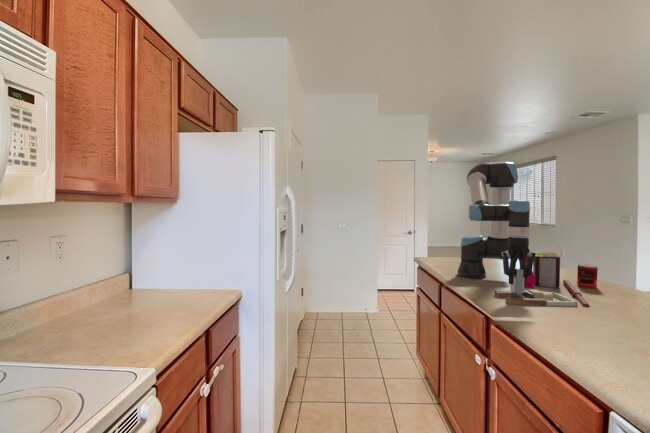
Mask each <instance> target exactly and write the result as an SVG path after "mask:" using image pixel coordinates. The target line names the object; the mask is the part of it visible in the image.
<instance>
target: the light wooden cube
mask: <svg viewBox="0 0 650 433" xmlns="http://www.w3.org/2000/svg"><path fill="white" fill-rule="evenodd" d="M542 292H543V299H544V300H546V301H554V297H553V294H551V293H549V291H542Z"/></svg>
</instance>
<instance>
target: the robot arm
mask: <svg viewBox="0 0 650 433" xmlns="http://www.w3.org/2000/svg"><path fill="white" fill-rule="evenodd" d="M518 177H519V174H518V169H517V165H516V164H515V162H513V161H512V162H511V161H497V162H482V163H479V164H477V165H475V166H473V167H472V168H471V169H470V170H469V171H468V173H467V175H466V184H467V185H468V187H469V191H470V200H471V204H470V205H469V206H468V219H469V220H470V221H473V222H474V221H475V222H476V221H477V222H490V232H489V233H488V234H487V237H484V235H481V234H479V235H467V236H464V237H462V238H461V240H460V243H461V244H460V247H461V248H460V263H459V266H458V269H457V275H458V276H460V277H461V278H468V279H485V278H487V272H486V269H485V266H484V261H483V260H484V259H488V260H489V259H490V260H491V259H493V260H502V265H503V266H502V268H503V274H504V275H505V276H508V284H509V285H510V290H509V291H511V292H513V293H516V277H514V273H515V268H517V262H519V268H521V269H523V293H524V290H525V288H524V285H526V278H527V277H528V276H531V274H532V271H533V260H534V257H535V255H536V253H534V251H531V250H530V251H529V249H530V248H529V246H530V245H529V244H530V238H529V236H530V217H531V216H530V215H531V214H530V213H531V212H530V210H531V205H530V201H529V200H527V199H526V200H525V199H522V200H521V199H514V200H513V199H512V200H511V199H510V198H511V190H513V188H514V185H515V184H518V181H519V178H518ZM487 185H489V188H490V190H491V202H490V200H489V199H490V198H489V194H488V190H487ZM490 203H491V204H490ZM526 255H528V257H527V264H526V263H525V261H526V258H525V257H526ZM509 261H510V262H509Z"/></svg>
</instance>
